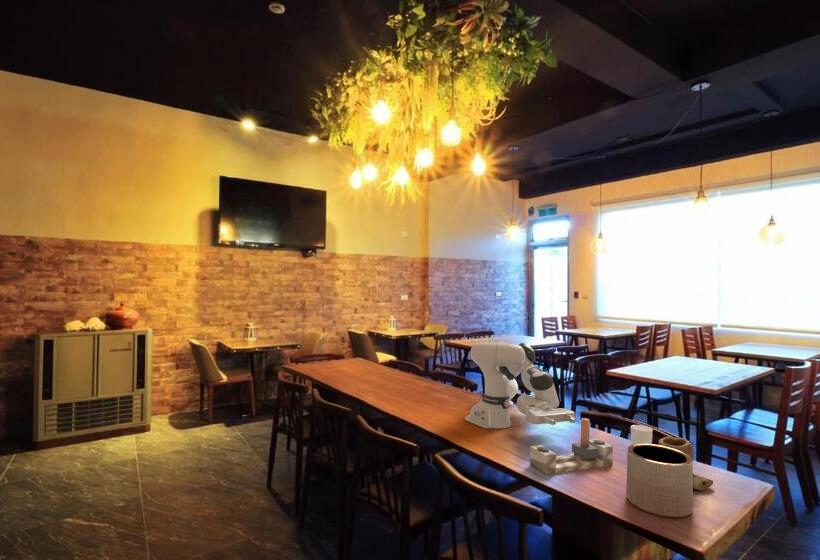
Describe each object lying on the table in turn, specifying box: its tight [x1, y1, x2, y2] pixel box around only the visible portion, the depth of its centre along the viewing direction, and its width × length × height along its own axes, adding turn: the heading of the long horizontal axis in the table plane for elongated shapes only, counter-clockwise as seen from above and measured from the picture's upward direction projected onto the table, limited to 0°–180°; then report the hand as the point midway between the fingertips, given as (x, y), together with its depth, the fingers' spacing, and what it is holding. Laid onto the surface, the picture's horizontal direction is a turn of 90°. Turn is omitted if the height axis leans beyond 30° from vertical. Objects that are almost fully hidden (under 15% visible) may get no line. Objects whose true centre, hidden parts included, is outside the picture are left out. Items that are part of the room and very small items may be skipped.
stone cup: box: [657, 436, 714, 491], centre depth 149 cm, size 15×12×15 cm
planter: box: [625, 443, 694, 519], centre depth 134 cm, size 18×18×16 cm
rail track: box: [529, 438, 614, 476], centre depth 162 cm, size 30×9×7 cm, turn 110°
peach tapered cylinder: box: [571, 417, 598, 460], centre depth 164 cm, size 6×7×14 cm
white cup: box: [630, 424, 654, 445], centre depth 176 cm, size 8×8×10 cm
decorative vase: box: [496, 366, 519, 406], centre depth 248 cm, size 18×18×25 cm
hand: (563, 421), depth 175 cm, fingers open, 8 cm apart
